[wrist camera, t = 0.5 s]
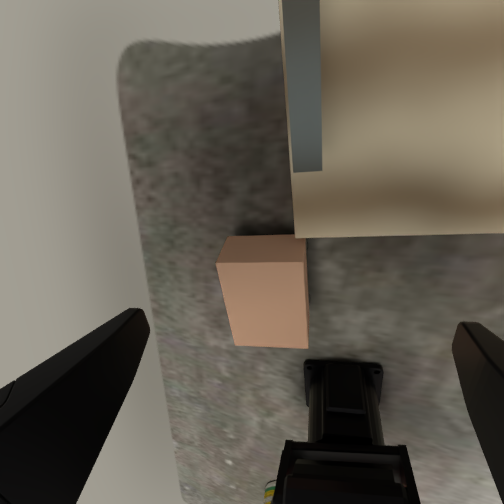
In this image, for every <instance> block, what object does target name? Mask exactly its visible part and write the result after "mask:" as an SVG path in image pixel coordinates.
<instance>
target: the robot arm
mask: <svg viewBox="0 0 504 504" xmlns="http://www.w3.org/2000/svg"><path fill="white" fill-rule="evenodd" d="M149 334H150V327H149V324H148V321H147V318H146V316H145V313H144V311H143V310H142V309H140V308H129V309H127V310H125V311H124V312H122V313H120V314H119V315H118V316H116V317H114V318H113V319H111V320H109V321H108V322H106V323H104V324H103V325H101V326H100V327H98V328H97V329H95V330H93V331H92V332H90V333H89V334H87V335H86V336H84V337H82V338H81V339H79V340H77V341H76V342H74V343H73V344H71V345H69V346H68V347H66V348H65V349H63V350H62V351H60V352H59V353H57V354H55V355H54V356H52V357H50V358H49V359H47V360H46V361H44V362H43V363H41V364H39V365H38V366H36V367H35V368H33V369H31V370H30V371H28V372H27V373H25V374H23V375H22V376H20V377H19V378H17V379H16V381H12V382H11V383H9V384H7V385H6V386H5V387H3V388H1V389H0V504H76V502H77V501H78V499H79V496H80V494H81V492H82V490H83V488H84V485H85V484H86V481H87V479H88V477H89V475H90V473H91V470H92V468H93V466H94V464H95V462H96V460H97V458H98V456H99V453H100V451H101V449H102V447H103V444H104V442H105V440H106V438H107V436H108V434H109V432H110V430H111V427H112V425H113V423H114V421H115V419H116V417H117V415H118V412H119V410H120V408H121V406H122V404H123V402H124V399H125V397H126V395H127V393H128V391H129V388H130V387H131V384H132V382H133V380H134V377H135V375H136V372H137V369H138V366H139V363H140V361H141V358H142V355H143V352H144V349H145V346H146V343H147V340H148V337H149ZM452 353H453V357H454V361H455V365H456V368H457V372H458V376H459V380H460V384H461V388H462V392H463V396H464V400H465V403H466V407H467V410H468V413H469V416H470V419H471V422H472V424H473V427H474V429H475V432H476V435H477V437H478V440H479V443H480V445H481V448H482V450H483V453H484V456H485V458H486V461H487V463H488V466H489V469H490V471H491V474H492V477H493V479H494V482H495V484H496V487H497V490H498V492H499V495H500V497H501V500H502V503H503V504H504V341H503V340H502V339H500V338H499V337H498V336H496V335H495V334H494V333H492V332H491V331H490V330H488V329H487V328H485V327H484V326H483V325H481V324H480V323H478V322H460V323H459V324H458V326H457V329H456V333H455V336H454V339H453V343H452ZM304 378H305V392H306V405H307V406H308V407H309V424H308V442H296V441H293V440H286V441H285V447H284V450H282V455H281V460H280V465H279V470H278V475H277V480H276V486H275V491H274V494H273V497H272V500H271V503H270V504H421V503H420V499H419V495H418V491H417V487H416V483H415V479H414V475H413V471H412V467H411V463H410V459H409V455H408V451H407V447H406V445H398V446H385V444H384V438H383V432H382V425H381V419H380V413H379V402H380V394H381V387H382V379H383V368H382V366H381V365H378V364H364V363H346V362H328V361H310V360H309V361H305V362H304Z"/></svg>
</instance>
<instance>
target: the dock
mask: <svg viewBox="0 0 504 504" xmlns="http://www.w3.org/2000/svg"><path fill="white" fill-rule="evenodd" d="M278 1H279V15H280V30H281V44H282V58H283V72H284V86H285V100H286V114H287V128H288V142H289V157H290V171H291V185H292V199H293V213H294V227H295V238H327V237H366V236H406V235H445V234H485V233H504V0H278Z"/></svg>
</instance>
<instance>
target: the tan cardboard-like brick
mask: <svg viewBox="0 0 504 504" xmlns="http://www.w3.org/2000/svg"><path fill="white" fill-rule="evenodd" d="M307 248H308V243H307V241H306V239H305V238H295V234H292V235H256V236H228V237H227V239H226V241H225V243H224V246H223V248H222V250H221V252H220V254H219V257H218V259H217V261H216V267H217V271H218V275H219V279H220V284H221V288H222V292H223V296H224V301H225V305H226V309H227V313H228V317H229V322H230V326H231V330H232V334H233V339H234V343H235V345H240V346H260V347H281V348H302V349H308V341H309V302H310V295H309V293H308V279H307V259H306V250H307Z"/></svg>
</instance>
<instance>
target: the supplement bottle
mask: <svg viewBox="0 0 504 504" xmlns="http://www.w3.org/2000/svg"><path fill="white" fill-rule="evenodd" d="M275 486H276V481H273V482H270V483H269V484H267V486H266V489H265V496H264V504H270V503H271V500H272V497H273V494H274V491H275Z"/></svg>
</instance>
